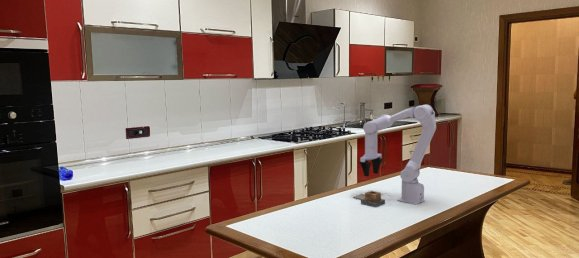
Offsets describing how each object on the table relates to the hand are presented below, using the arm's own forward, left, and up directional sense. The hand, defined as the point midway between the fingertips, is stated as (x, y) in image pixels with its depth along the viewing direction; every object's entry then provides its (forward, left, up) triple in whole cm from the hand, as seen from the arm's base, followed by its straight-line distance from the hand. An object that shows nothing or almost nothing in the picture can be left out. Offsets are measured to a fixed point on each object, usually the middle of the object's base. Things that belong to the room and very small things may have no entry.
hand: (371, 174), depth 204 cm
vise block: (-9, +12, -10) cm, 18 cm away
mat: (-1, +7, -10) cm, 12 cm away
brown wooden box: (-9, +12, -8) cm, 17 cm away
